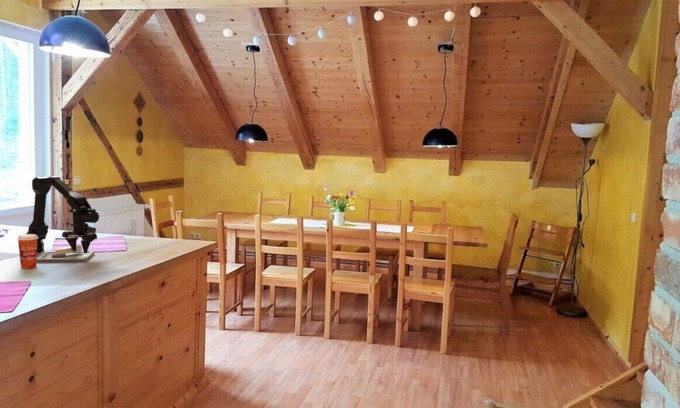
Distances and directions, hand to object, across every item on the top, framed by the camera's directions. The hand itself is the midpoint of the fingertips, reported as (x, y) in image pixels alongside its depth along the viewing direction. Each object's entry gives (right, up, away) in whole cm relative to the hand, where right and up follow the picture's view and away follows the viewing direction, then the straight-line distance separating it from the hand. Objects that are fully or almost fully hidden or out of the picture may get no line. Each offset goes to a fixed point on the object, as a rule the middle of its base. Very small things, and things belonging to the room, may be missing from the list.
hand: (80, 252), depth 253 cm
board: (-7, -3, 0) cm, 7 cm away
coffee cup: (-14, -5, -19) cm, 24 cm away
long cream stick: (-7, -1, +1) cm, 7 cm away
